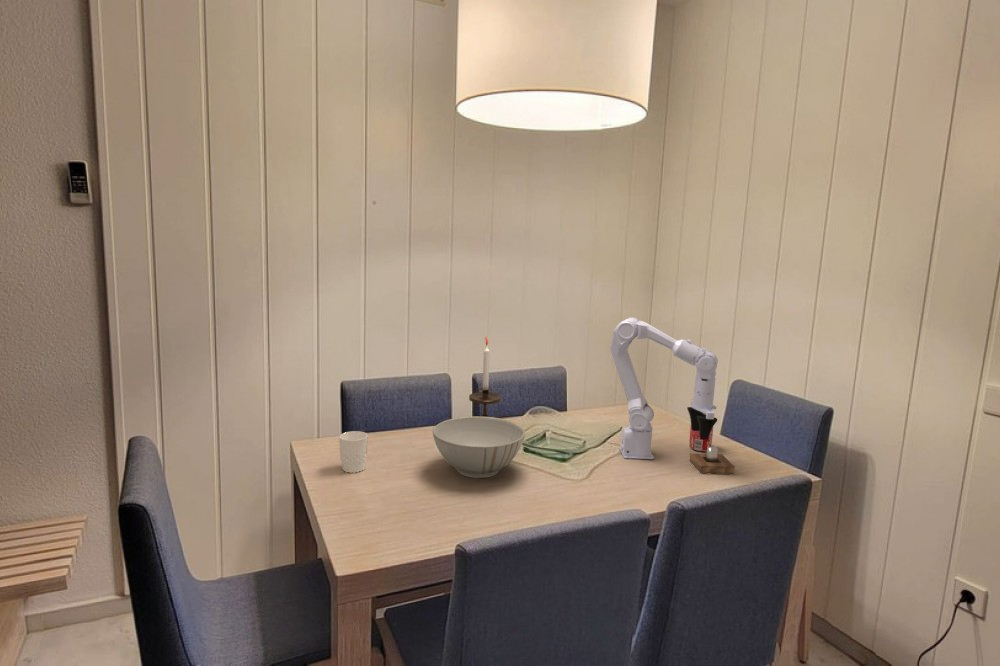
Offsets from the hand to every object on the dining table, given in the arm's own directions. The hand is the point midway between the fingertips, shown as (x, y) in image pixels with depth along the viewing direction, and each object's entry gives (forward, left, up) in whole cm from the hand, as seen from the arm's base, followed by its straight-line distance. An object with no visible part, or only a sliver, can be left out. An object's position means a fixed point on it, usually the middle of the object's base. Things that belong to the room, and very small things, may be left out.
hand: (699, 434), depth 179 cm
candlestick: (-66, +19, -10) cm, 70 cm away
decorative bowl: (-67, -9, -10) cm, 69 cm away
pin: (+4, -2, -9) cm, 10 cm away
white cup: (-103, -11, -10) cm, 104 cm away
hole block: (+4, -2, -10) cm, 11 cm away
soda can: (+6, +14, -10) cm, 18 cm away
